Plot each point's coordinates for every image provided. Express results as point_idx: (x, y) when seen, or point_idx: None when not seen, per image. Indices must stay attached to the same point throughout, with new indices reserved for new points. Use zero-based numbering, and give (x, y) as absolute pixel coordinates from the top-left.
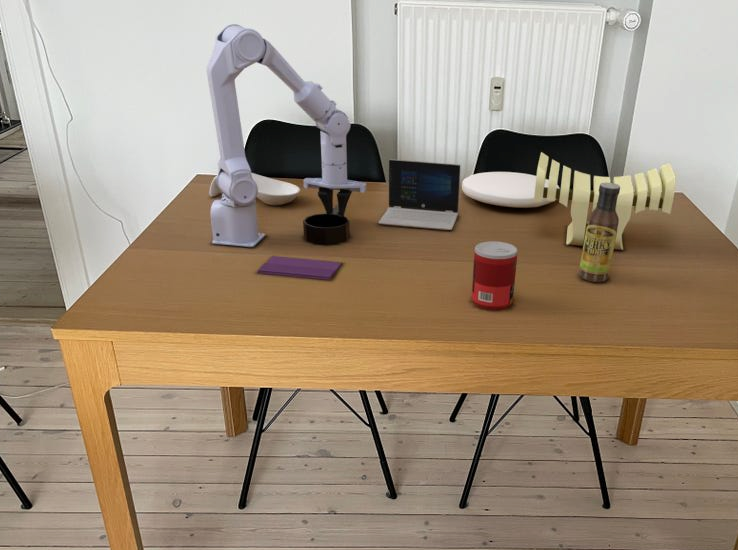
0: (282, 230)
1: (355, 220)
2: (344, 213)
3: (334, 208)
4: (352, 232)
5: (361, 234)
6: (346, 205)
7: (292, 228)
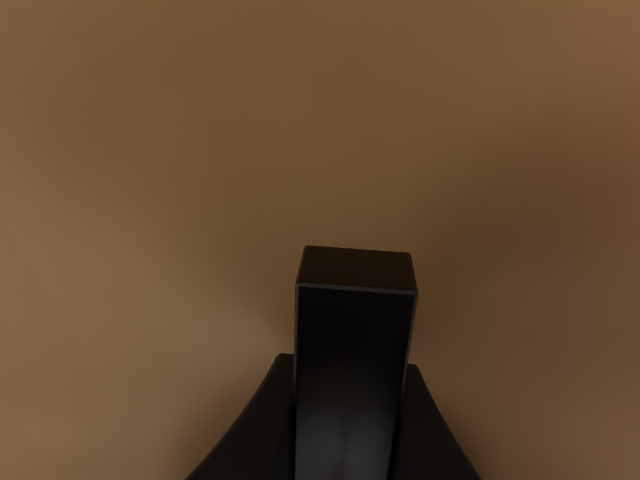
0: (9, 459)
1: (514, 166)
2: (432, 401)
3: (310, 427)
4: (500, 445)
5: (574, 470)
6: (477, 474)
7: (47, 423)
